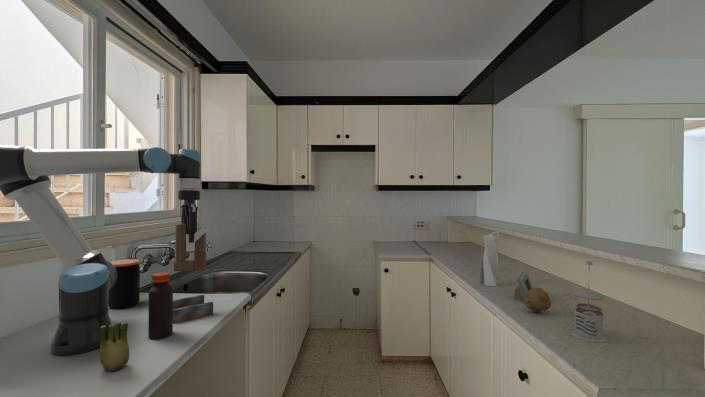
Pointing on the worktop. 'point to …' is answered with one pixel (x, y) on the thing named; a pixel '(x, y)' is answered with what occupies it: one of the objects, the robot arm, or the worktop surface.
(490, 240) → the skyscraper
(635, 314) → the worktop surface
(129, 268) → the coffee jar
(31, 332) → the worktop surface
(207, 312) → the metal-railed wooden board
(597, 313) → the french press
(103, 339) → the fennel bulb
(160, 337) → the bottle
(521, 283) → the digital clock
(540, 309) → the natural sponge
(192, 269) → the brown upright wooden piece
